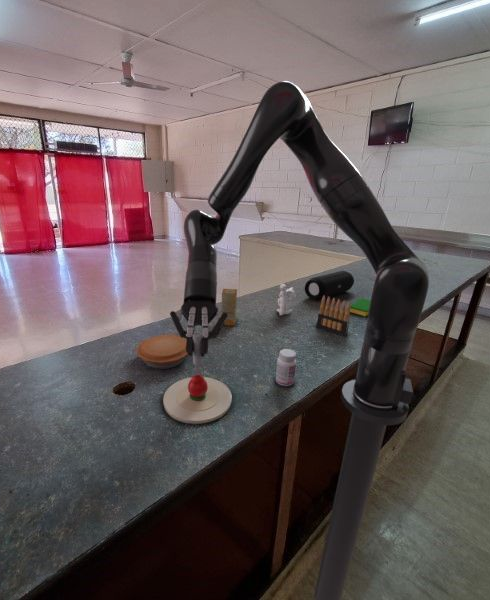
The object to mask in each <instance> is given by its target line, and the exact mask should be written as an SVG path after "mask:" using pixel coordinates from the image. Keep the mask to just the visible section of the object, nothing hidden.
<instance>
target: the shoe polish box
mask: <svg viewBox="0 0 490 600" xmlns="http://www.w3.org/2000/svg"><path fill="white" fill-rule="evenodd" d="M237 302H238V289H235V288H222V292H221V312H222V313H227V316H228V317H227V321H226V322H225V324H224V326H232V327H234V326H236V322H237V304H238V303H237Z"/></svg>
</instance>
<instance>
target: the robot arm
mask: <svg viewBox="0 0 490 600" xmlns="http://www.w3.org/2000/svg"><path fill="white" fill-rule="evenodd" d="M258 103H259V104H258V105H257V108H256V110H255V112H254V115H253V116H252V118H251V121H250V122H249V125H248V127H247V129H246V131H245V133H244V135H243V138H242V139H241V142H240V144H239V145H238V147H237V149H236V152H235V154H234V155H233V157H232V159H231V160H230V162H229V164H228V165H227V166H226V169H225V171H224V172H223V173H222V175H221V177H220V178H219V180H218V181H217V183H216V184H215V186H214V187H213V189H212V190H211V192H210V193H209V195H208V197H207V203H208V206H209V207H210V208H211V209H212V210H213V211H214V212H215V213H216V216H213V215H210V214H209V213H206V212H204V211H203V210H200V209H193V210H190V211H189V212H188V213H187V214H186V216H185V218H184V221H183V233H184V234H183V235H184V238H185V243H186V247H187V252H188V257H187V267H186V272H185V278H184V279H185V280H184V291H183V302H182V305H180V309H178V310H176V311H173V310H172V311H170V313H169V315H170V318H171V320H172V322H173V324H174V327H175V328H176V331H177V333H178V334H179V335H178V336H179V337H182V338H184V339H186V340H187V341H186V352H187V354H188V357H189V358H193V334H194V333H195V330H196V326H201V328H202V341H201V357H202V358H205V357H206V356H207V355H208V352H209V341H210V340H211V339H212V340H213V339H216V338H217V337H218V335H219V334H220V333H221V331H222V330H223V327H224V326H225V325H224V324H225V322H226V321H227V317H228V316H227V313H222V311H220V310H219V308H218V306H217V292H218V291H217V290H218V289H217V288H218V272H217V263H218V262H217V259H218V252H217V248H216V247H215V245H217V244H218V243H220V242H221V240H223V238H224V237H225V236H224V235H225V233H226V230H227V228H228V224H229V222H230V220H231V217H232V215H233V214H234V211H235V210H236V208H237V207H238V206H239V204H240V203H241V201H242V200H243V199H244V197H245V196H246V194H247V193H248V191H249V190H250V188H251V186H252V184H253V182H254V179H255V177H256V174H257V172H258V170H259V167H260V165H261V163H262V161H263V160H264V159H265V156H266V155H267V153H268V152H269V151H270V149H271V148H272V147H273V145H274V144H276V142H277V141H278V140H279V139H280V140H281V141H282V142H283V143H284V144H285V145H286V146H287V147H288V149H289V150H290V151H291V152H292V153H293V155H294V156H295V158H297V161H299V163H300V165H301V167H302V169H303V171H304V174H305V176H306V178H307V181H308V183H309V186H310V188H311V190H312V192H313V194H314V196H315V198H316V200H317V201H318V203H319V204H320V206H321V207H322V209H323V211H324V212H325V213H326V214H327V217H329V219H330V220H331V221H332V222H333V224H335V225H336V227H338V228H339V230H340V231H342V232H343V233H344V234H345V235H346V236H347V237H348V238H349V239H350V240H351V241H352V242H354V243H355V244H356V245H357V246H358V248H359V249H360V250H361V251H362V252H363V254H364V255H365V257H366V259H367V260H368V262H369V263H370V266H371V267H372V269H373V271H374V272H375V279H374V282H373V285H372V291H371V297H370V300H371V301H370V307H369V312H368V315H367V322H366V327H365V331H364V336H363V341H362V346H361V351H360V357H359V361H358V366H357V372H356V376H355V379H356V380H355V379H354V380H355V384H354V388H353V395H354V397H355V398H356V399H357V400H358V401H359V402H360V403H362V404H363V405H365V406H367V407H369V408H372V409H376V410H382V411H386V410H396V411H397V409H398V405H399V402H402V403H404V404H408V405H411V403H412V402H414V401H415V400H416V394H415V392H414V390H413V385H412V380H411V379H410V378H407V375H408V374H407V365H408V361H409V357H410V354H411V350H412V347H413V342H414V338H415V335H416V332H417V329H418V327H419V324H420V320H421V317H422V313H423V310H424V307H425V303H426V299H427V295H428V291H429V287H430V286H429V285H430V278H429V271H428V268H427V267H426V264H425V263H424V262H423V260H422V259H420V258H419V257H418V256H417V254H415V253H414V251H413V250H412V249H411V248H410V247H409V245H407V243H406V242H405V241H404V239H403V238H402V237H401V236H400V235H399V234H398V233H397V232H396V230H395V228H394V227H393V226H392V224H391V222H390V220H389V218H388V217H387V214H386V213H385V211H384V209H383V208H382V205H381V204H380V202H379V201H378V199H377V197H376V196H375V194H374V193H373V191H372V189H371V188H370V186H369V185H368V183H367V182H366V181H365V179H364V177H362V176H363V175H361V174H360V172H359V170H358V169H357V168H356V166H355V165H354V164H353V163H352V162H351V161H350V159H349V158H348V157H347V156H346V155H345V154H344V153H343V152H342V151H341V150H340V148H339V147H338V146H337V145H336V144H335V143H334V142H333V141H332V140H331V139H330V137H329V136H328V134H327V133H326V131H325V130H324V128H323V126H322V124H321V122H320V121H319V119H318V117H317V115H316V113H315V111H314V109H313V107H312V105H311V102H310V101H309V99H308V97H307V96H306V95H305V93H304V92H303V91H302V90H301V89H300V88H299V86H297V85H296V84H294V83H293V82H290V81H288V80H287V81H286V80H285V81H283V80H282V81H278V82H275V83H274V84H272V85H271V86H270V87H269V88H268V89H267V90H266V91H265V92H264V94H263V96H262V98H261V100H260V102H258ZM182 316H183V317H184V319H185V321H186V322H187V330H184V328H183V326H182V323H181V320H182ZM216 316H217V317H216ZM215 318H216V321H217V322H216V323H215V325H214V326H213V328H212V329H211V331H209V324H210V323H211V322H212V321H213V320H214V319H215Z"/></svg>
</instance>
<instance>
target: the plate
mask: <svg viewBox="0 0 490 600" xmlns="http://www.w3.org/2000/svg"><path fill="white" fill-rule="evenodd" d="M192 377H193V376H191V377H187V378H183V379H180V380H178V381H176V382H174V383H173V384H171V385H170V386H169V387H168V388H167V389H166V390H165V392H164V394H163V397H162V398H163V399H162V403H163V409H164V410H165V412H166V413H167V415H169V416H170V417H171V418H172V419H174V420H175V421H178V422H181V423H186V424H191V425H192V424H193V425H197V424H198V425H200V424H207V423H211V422H214V421H216V420H218V419H220V418H222V417H223V416H224V415H226V414H227V413H228V411H229V410H230V408H231V406H232V401H233V395H232V391H231V390H230V388H229V387H228V385H226V384H225V383H224V382H222V381H220V380H218V379H216V378H212V377H207V376H203V377H204V379H205V380H206V382H207V385H208V389H207V392H206V397H205V399H203V400H201V401H194V400H192V399H191V398H190V393H189V391H188V384H189V382H190V380H191V379H192Z"/></svg>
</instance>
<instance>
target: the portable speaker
mask: <svg viewBox="0 0 490 600" xmlns="http://www.w3.org/2000/svg"><path fill="white" fill-rule="evenodd" d="M354 284H355V278H354V275H353V274H352V273H351V272H349V271H346V270H338V271H335V272H331V273H327V274H323V275H319V276H315V277H311V278H310V279H309V280H307V281H306V282H305V285H304V292H305V295H306V296H307V298H309V299H311V300H315V301H318V300H322V298H323V296H324V295H325V298H328V297H331V296H335V295H337V294H338V295H339V294H342V293H345V292H348V291H350V290H351V288H352V287H353V286H354Z"/></svg>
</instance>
